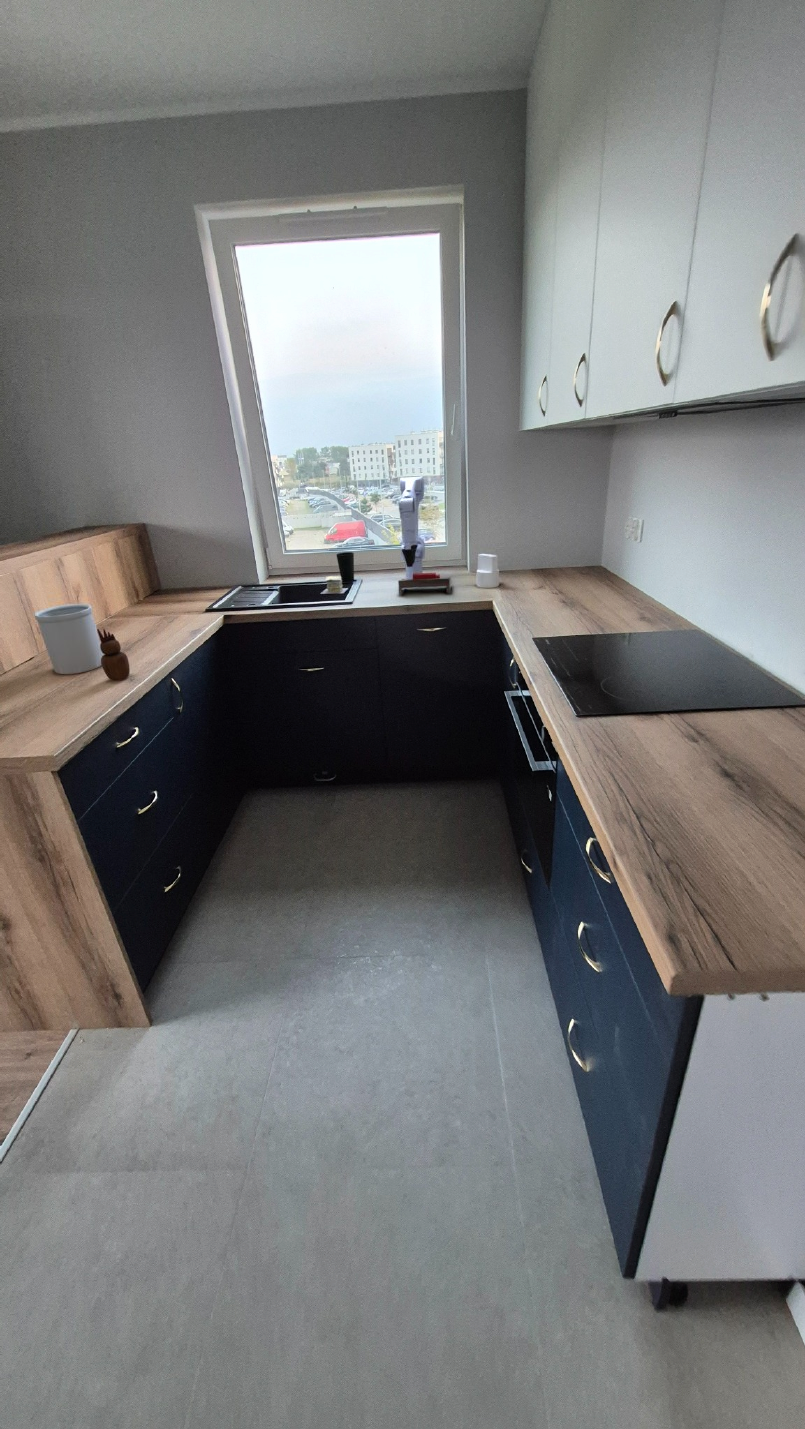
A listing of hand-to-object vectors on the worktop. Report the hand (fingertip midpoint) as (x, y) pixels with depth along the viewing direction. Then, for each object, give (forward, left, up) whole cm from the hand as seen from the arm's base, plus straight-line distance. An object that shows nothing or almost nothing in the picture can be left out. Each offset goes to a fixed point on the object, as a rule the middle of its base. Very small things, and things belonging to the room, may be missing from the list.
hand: (410, 565), depth 234 cm
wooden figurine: (+96, -74, -10) cm, 121 cm away
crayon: (+7, +6, -5) cm, 10 cm away
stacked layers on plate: (0, -33, -10) cm, 34 cm away
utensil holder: (+85, -93, -10) cm, 126 cm away
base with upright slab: (+1, +31, -10) cm, 32 cm away
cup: (-19, -31, -10) cm, 38 cm away
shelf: (+7, +6, -9) cm, 13 cm away
